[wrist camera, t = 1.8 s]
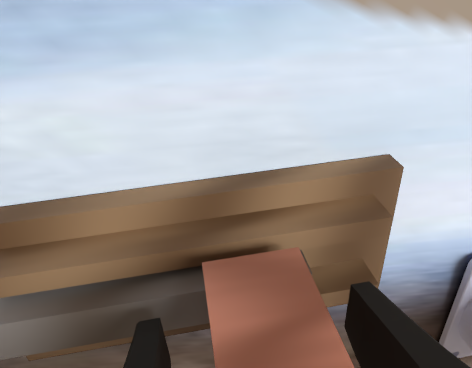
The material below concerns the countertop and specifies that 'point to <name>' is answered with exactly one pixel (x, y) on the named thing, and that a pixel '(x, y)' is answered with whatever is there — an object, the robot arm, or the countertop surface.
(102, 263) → the track board
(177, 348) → the countertop surface
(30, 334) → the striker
